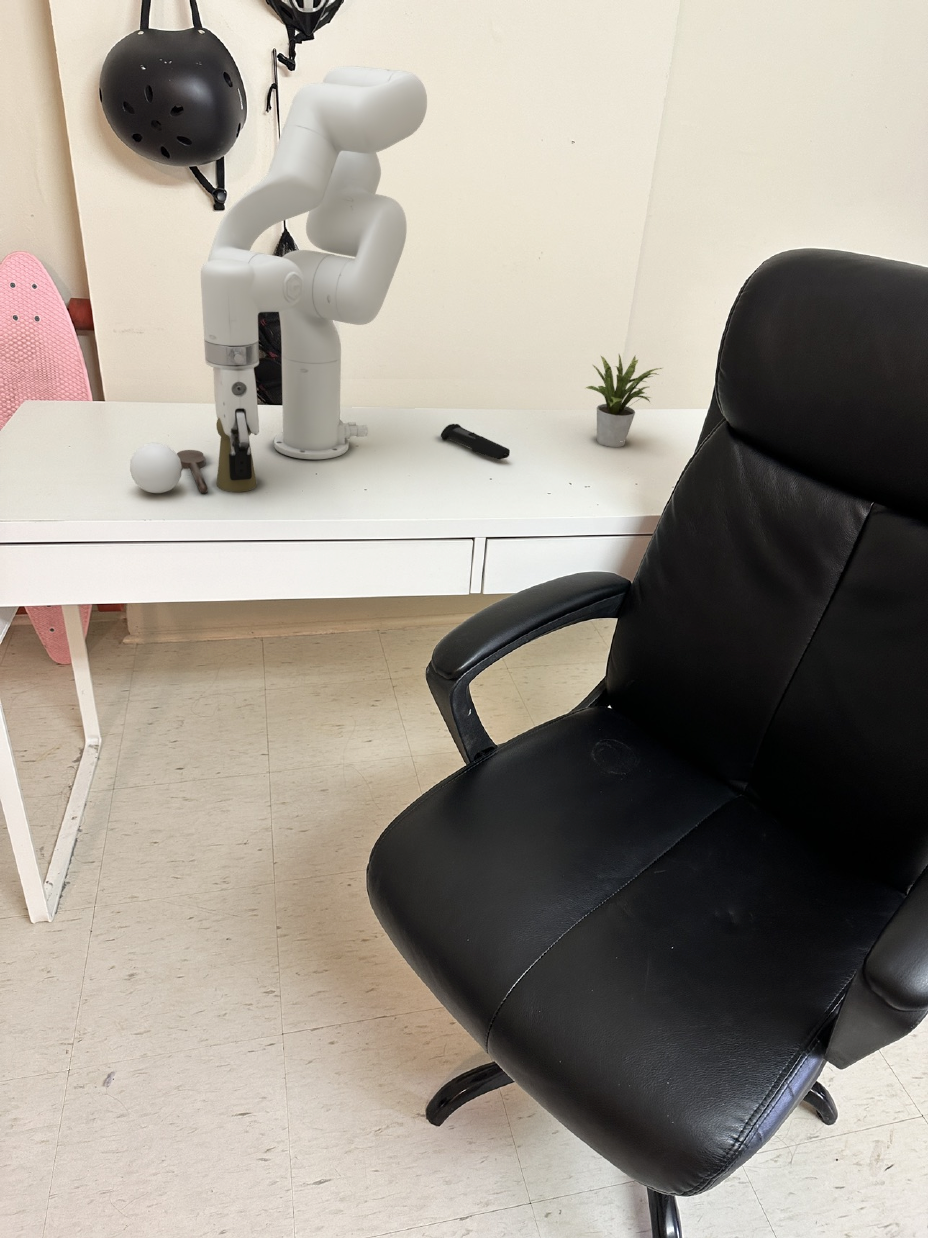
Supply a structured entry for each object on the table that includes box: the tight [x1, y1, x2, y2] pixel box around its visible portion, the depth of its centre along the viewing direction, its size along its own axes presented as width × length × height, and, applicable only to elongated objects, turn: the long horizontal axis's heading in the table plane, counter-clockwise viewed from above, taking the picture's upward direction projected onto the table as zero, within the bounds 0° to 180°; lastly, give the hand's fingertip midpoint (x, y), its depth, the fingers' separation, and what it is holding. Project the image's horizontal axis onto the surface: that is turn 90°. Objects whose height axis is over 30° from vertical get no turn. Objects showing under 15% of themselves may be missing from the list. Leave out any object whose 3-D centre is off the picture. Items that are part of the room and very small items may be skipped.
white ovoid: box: [129, 442, 184, 494], centre depth 140 cm, size 10×7×7 cm
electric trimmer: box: [440, 423, 511, 461], centre depth 166 cm, size 4×16×3 cm, turn 42°
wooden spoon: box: [176, 449, 209, 494], centre depth 147 cm, size 16×4×1 cm, turn 22°
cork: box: [215, 418, 258, 493], centre depth 142 cm, size 6×6×11 cm
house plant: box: [585, 354, 663, 448], centre depth 171 cm, size 14×14×16 cm
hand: (236, 470), depth 144 cm, fingers open, 5 cm apart
